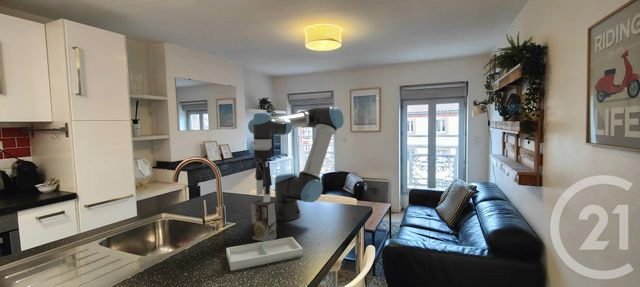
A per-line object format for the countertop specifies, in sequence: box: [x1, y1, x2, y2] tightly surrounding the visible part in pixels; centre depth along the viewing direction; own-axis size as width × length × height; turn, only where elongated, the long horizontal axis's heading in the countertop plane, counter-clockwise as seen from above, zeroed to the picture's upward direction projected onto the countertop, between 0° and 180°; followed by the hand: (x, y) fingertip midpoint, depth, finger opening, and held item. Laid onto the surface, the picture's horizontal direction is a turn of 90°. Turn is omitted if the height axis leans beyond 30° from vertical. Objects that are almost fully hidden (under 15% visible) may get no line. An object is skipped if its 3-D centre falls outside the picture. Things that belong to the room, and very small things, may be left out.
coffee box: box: [250, 199, 277, 242], centre depth 128 cm, size 9×6×16 cm
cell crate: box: [225, 236, 304, 272], centre depth 111 cm, size 13×26×3 cm, turn 114°
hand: (263, 198), depth 127 cm, fingers open, 13 cm apart
